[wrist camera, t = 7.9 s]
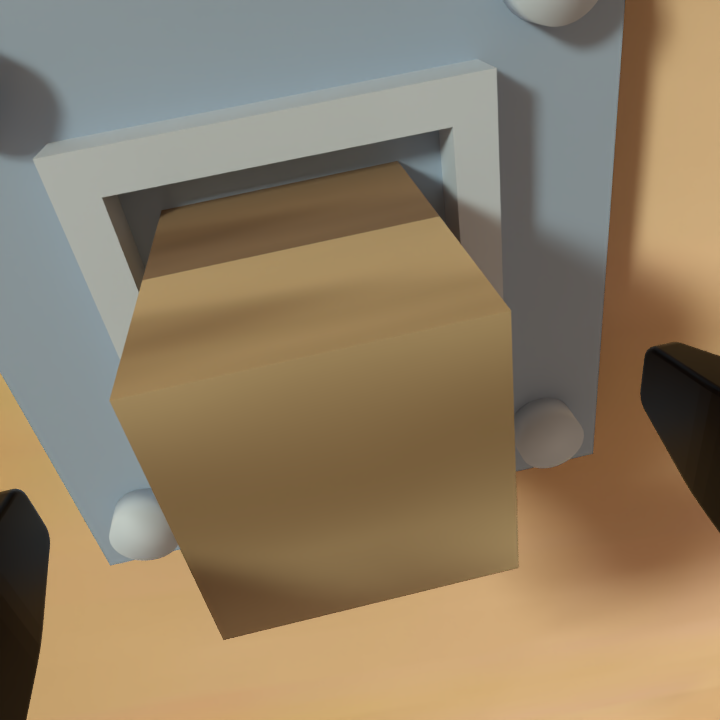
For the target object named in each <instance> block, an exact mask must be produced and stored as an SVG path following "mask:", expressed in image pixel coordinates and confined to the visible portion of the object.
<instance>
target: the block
mask: <svg viewBox="0 0 720 720" xmlns="http://www.w3.org/2000/svg"><path fill="white" fill-rule="evenodd" d="M109 401H110V403H111V405H112V407H113V409H114V412H115V414H116V416H117V418H118V420H119V422H120V424H121V426H122V428H123V430H124V432H125V435H126V437H127V439H128V441H129V443H130V445H131V447H132V449H133V451H134V453H135V456H136V458H137V460H138V462H139V464H140V466H141V468H142V470H143V472H144V474H145V476H146V479H147V481H148V483H149V485H150V487H151V489H152V491H153V493H154V495H155V497H156V500H157V502H158V504H159V506H160V508H161V510H162V512H163V514H164V516H165V518H166V520H167V523H168V525H169V527H170V529H171V531H172V533H173V535H174V537H175V539H176V541H177V544H178V546H179V548H180V550H181V552H182V554H183V556H184V558H185V560H186V562H187V564H188V567H189V569H190V571H191V573H192V575H193V577H194V579H195V581H196V583H197V585H198V588H199V590H200V592H201V594H202V596H203V598H204V600H205V602H206V604H207V606H208V608H209V611H210V613H211V615H212V617H213V619H214V621H215V623H216V625H217V627H218V629H219V632H220V634H221V636H222V638H223V640H226V639H230V638H234V637H238V636H242V635H246V634H250V633H254V632H258V631H262V630H266V629H271V628H275V627H279V626H283V625H287V624H291V623H295V622H299V621H303V620H307V619H311V618H316V617H320V616H324V615H328V614H332V613H336V612H340V611H344V610H348V609H352V608H356V607H361V606H365V605H369V604H373V603H377V602H381V601H385V600H389V599H393V598H397V597H402V596H406V595H410V594H414V593H418V592H422V591H426V590H430V589H434V588H438V587H442V586H447V585H451V584H455V583H459V582H463V581H467V580H471V579H475V578H479V577H483V576H487V575H492V574H496V573H500V572H504V571H508V570H512V569H516V568H519V564H518V530H517V496H516V461H515V427H514V393H513V359H512V325H511V310H510V308H509V307H508V306H507V304H506V303H505V302H504V301H503V299H502V298H501V297H500V295H499V294H498V293H497V291H496V290H495V289H494V287H493V286H492V285H491V283H490V282H489V281H488V279H487V278H486V277H485V275H484V274H483V273H482V271H481V270H480V269H479V268H478V266H477V265H476V264H475V262H474V261H473V260H472V258H471V257H470V256H469V254H468V253H467V252H466V250H465V249H464V248H463V246H462V245H461V244H460V242H459V241H458V240H457V238H456V237H455V236H454V235H453V233H452V232H451V231H450V229H449V228H448V227H447V225H446V224H445V223H444V221H443V220H442V219H441V217H440V216H439V215H438V213H437V212H436V211H435V209H434V208H433V207H432V206H431V204H430V203H429V202H428V200H427V199H426V198H425V196H424V195H423V194H422V192H421V191H420V190H419V188H418V187H417V186H416V184H415V183H414V182H413V180H412V179H411V178H410V176H409V175H408V174H407V173H406V171H405V170H404V169H403V167H402V166H401V165H400V163H399V162H398V161H394V162H389V163H384V164H380V165H375V166H370V167H365V168H361V169H356V170H351V171H346V172H342V173H337V174H332V175H327V176H323V177H318V178H313V179H308V180H304V181H299V182H294V183H289V184H285V185H280V186H275V187H270V188H266V189H261V190H256V191H251V192H247V193H242V194H237V195H232V196H228V197H223V198H218V199H213V200H209V201H204V202H199V203H194V204H189V205H185V206H180V207H175V208H170V209H166V210H161V214H160V218H159V221H158V225H157V229H156V232H155V236H154V240H153V243H152V247H151V250H150V254H149V258H148V261H147V265H146V269H145V272H144V276H143V280H142V283H141V287H140V290H139V294H138V298H137V301H136V305H135V309H134V312H133V316H132V320H131V323H130V327H129V330H128V334H127V338H126V341H125V345H124V349H123V352H122V356H121V360H120V363H119V367H118V370H117V374H116V378H115V381H114V385H113V389H112V392H111V396H110V400H109Z"/></svg>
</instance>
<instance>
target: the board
mask: <svg viewBox="0 0 720 720" xmlns="http://www.w3.org/2000/svg"><path fill="white" fill-rule="evenodd" d="M624 9H625V0H0V373H1V375H2V376H3V378H4V380H5V382H6V383H7V385H8V387H9V389H10V390H11V392H12V394H13V396H14V397H15V399H16V401H17V403H18V404H19V406H20V408H21V410H22V411H23V413H24V415H25V417H26V418H27V420H28V422H29V424H30V425H31V427H32V429H33V431H34V432H35V434H36V436H37V438H38V439H39V441H40V443H41V445H42V446H43V448H44V450H45V452H46V453H47V455H48V457H49V459H50V460H51V462H52V464H53V466H54V467H55V469H56V471H57V473H58V474H59V476H60V478H61V480H62V482H63V483H64V485H65V487H66V489H67V490H68V492H69V494H70V496H71V497H72V499H73V501H74V503H75V504H76V506H77V508H78V510H79V511H80V513H81V515H82V517H83V518H84V520H85V522H86V524H87V525H88V527H89V529H90V531H91V532H92V534H93V536H94V538H95V539H96V541H97V543H98V545H99V546H100V548H101V550H102V552H103V553H104V555H105V557H106V559H107V560H108V562H109V564H110V565H115V564H119V563H123V562H127V561H132V560H154V559H158V558H161V557H164V556H166V555H168V554H170V553H171V552H172V551H175V550H179V549H180V548H179V546H178V544H177V541H176V539H175V537H174V535H173V533H172V531H171V529H170V527H169V525H168V523H167V520H166V518H165V516H164V514H163V512H162V510H161V508H160V506H159V504H158V502H157V500H156V497H155V495H154V493H153V491H152V489H151V487H150V485H149V483H148V481H147V479H146V476H145V474H144V472H143V470H142V468H141V466H140V464H139V462H138V460H137V458H136V456H135V453H134V451H133V449H132V447H131V445H130V443H129V441H128V439H127V437H126V435H125V432H124V430H123V428H122V426H121V424H120V422H119V420H118V418H117V416H116V414H115V412H114V409H113V407H112V405H111V403H110V401H109V400H110V396H111V392H112V389H113V385H114V381H115V378H116V374H117V370H118V367H119V363H120V360H121V356H122V352H123V349H124V345H125V341H126V338H127V334H128V330H129V327H130V323H131V320H132V316H133V312H134V309H135V305H136V301H137V298H138V294H139V290H140V287H141V283H142V280H143V276H144V272H145V269H146V265H147V261H148V258H149V254H150V250H151V247H152V243H153V240H154V236H155V232H156V229H157V225H158V221H159V218H160V214H161V210H166V209H170V208H175V207H180V206H185V205H189V204H194V203H199V202H204V201H209V200H213V199H218V198H223V197H228V196H232V195H237V194H242V193H247V192H251V191H256V190H261V189H266V188H270V187H275V186H280V185H285V184H289V183H294V182H299V181H304V180H308V179H313V178H318V177H323V176H327V175H332V174H337V173H342V172H346V171H351V170H356V169H361V168H365V167H370V166H375V165H380V164H384V163H389V162H394V161H398V162H399V163H400V165H401V166H402V167H403V169H404V170H405V171H406V173H407V174H408V175H409V176H410V178H411V179H412V180H413V182H414V183H415V184H416V186H417V187H418V188H419V190H420V191H421V192H422V194H423V195H424V196H425V198H426V199H427V200H428V202H429V203H430V204H431V206H432V207H433V208H434V209H435V211H436V212H437V213H438V215H439V216H440V217H441V219H442V220H443V221H444V223H445V224H446V225H447V227H448V228H449V229H450V231H451V232H452V233H453V235H454V236H455V237H456V238H457V240H458V241H459V242H460V244H461V245H462V246H463V248H464V249H465V250H466V252H467V253H468V254H469V256H470V257H471V258H472V260H473V261H474V262H475V264H476V265H477V266H478V268H479V269H480V270H481V271H482V273H483V274H484V275H485V277H486V278H487V279H488V281H489V282H490V283H491V285H492V286H493V287H494V289H495V290H496V291H497V293H498V294H499V295H500V297H501V298H502V299H503V301H504V302H505V303H506V304H507V306H508V307H509V308H510V310H511V325H512V359H513V393H514V427H515V461H516V471H520V470H525V469H529V468H533V467H536V468H551V467H555V466H558V465H560V464H562V463H564V462H566V461H568V460H569V459H572V458H577V457H581V456H585V455H590V454H593V446H594V431H595V417H596V403H597V389H598V375H599V361H600V347H601V333H602V319H603V305H604V291H605V277H606V263H607V248H608V234H609V220H610V206H611V192H612V178H613V164H614V150H615V136H616V122H617V108H618V94H619V79H620V65H621V51H622V37H623V23H624Z"/></svg>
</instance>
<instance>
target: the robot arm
mask: <svg viewBox="0 0 720 720" xmlns="http://www.w3.org/2000/svg"><path fill="white" fill-rule="evenodd" d="M640 395H641V401H642V405H643V407H644V409H645V411H646V413H647V415H648V417H649V419H650V420H651V422H652V424H653V426H654V427H655V429H656V431H657V433H658V435H659V436H660V438H661V440H662V442H663V444H664V445H665V447H666V449H667V451H668V452H669V454H670V456H671V458H672V460H673V461H674V463H675V465H676V467H677V469H678V470H679V472H680V474H681V476H682V477H683V479H684V481H685V483H686V484H687V486H688V488H689V489H690V491H691V493H692V494H693V496H694V497H695V498H696V500H697V501H698V503H699V504H700V506H701V507H702V509H703V510H704V511H705V513H706V514H707V516H708V517H709V518H710V520H711V521H712V523H713V524H714V525H715V527H716V528H717V530H718V531H719V532H720V356H718V355H715V354H712V353H709V352H706V351H703V350H700V349H697V348H694V347H691V346H688V345H685V344H682V343H679V342H671V343H667V344H662V345H658V346H653V347H651V348H649V349H648V350H647V352H646V354H645V358H644V366H643V374H642V383H641V392H640ZM49 550H50V538H49V533H48V530H47V528H46V526H45V524H44V522H43V521H42V519H41V518H40V516H39V514H38V513H37V511H36V510H35V508H34V506H33V505H32V503H31V502H30V500H29V498H28V497H27V495H26V494H25V493H24V492H23V491H21V490H19V489H11V490H7V491H2V492H0V720H26V719H27V714H28V709H29V704H30V699H31V694H32V689H33V684H34V679H35V674H36V669H37V664H38V659H39V653H40V647H41V639H42V631H43V620H44V608H45V596H46V585H47V573H48V561H49Z"/></svg>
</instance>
